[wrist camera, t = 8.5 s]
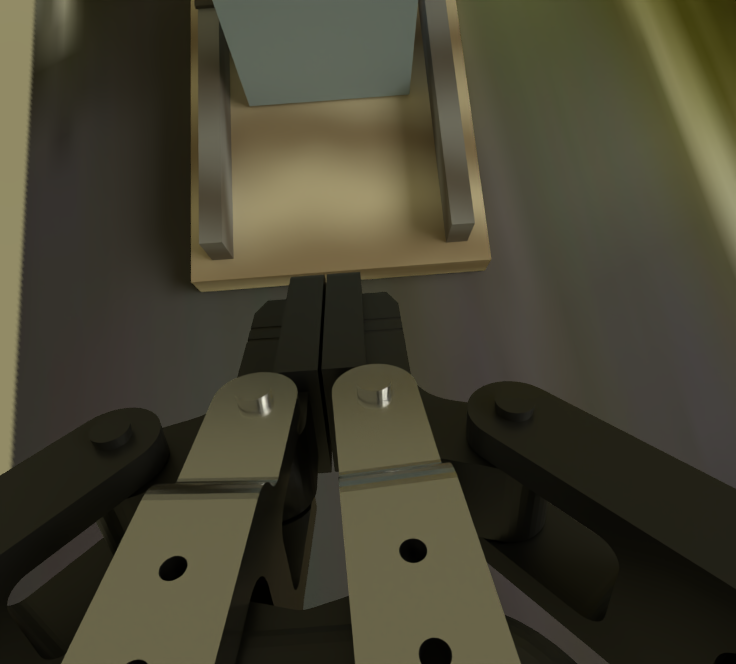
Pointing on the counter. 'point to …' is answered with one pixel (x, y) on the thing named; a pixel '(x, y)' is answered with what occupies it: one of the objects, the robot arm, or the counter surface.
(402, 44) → the grey rectangular block
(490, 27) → the counter surface
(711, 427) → the counter surface
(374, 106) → the beige wooden tray
